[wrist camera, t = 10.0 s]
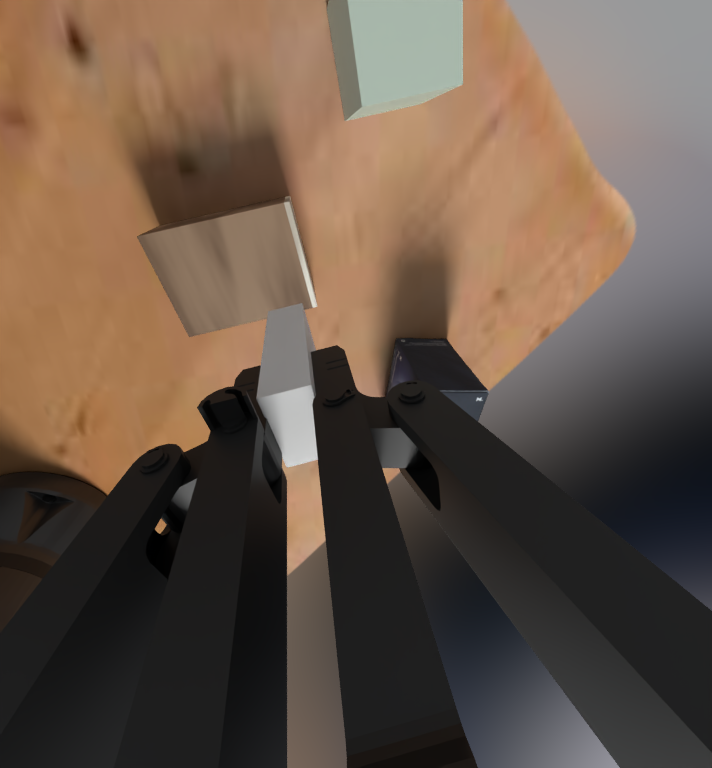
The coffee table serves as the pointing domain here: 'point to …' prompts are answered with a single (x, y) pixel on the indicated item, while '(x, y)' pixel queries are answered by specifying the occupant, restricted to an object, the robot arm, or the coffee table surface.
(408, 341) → the small box
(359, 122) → the coffee table surface
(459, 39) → the sage block
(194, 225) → the walnut block
